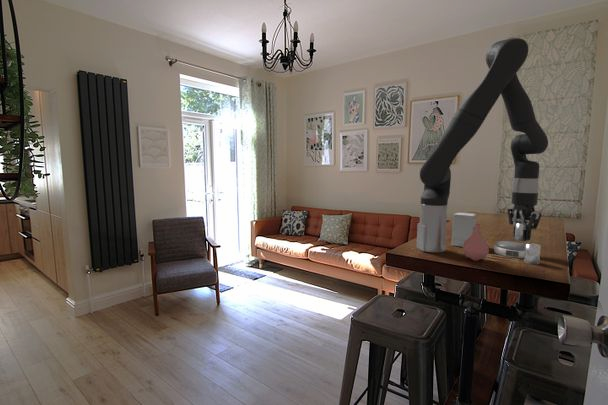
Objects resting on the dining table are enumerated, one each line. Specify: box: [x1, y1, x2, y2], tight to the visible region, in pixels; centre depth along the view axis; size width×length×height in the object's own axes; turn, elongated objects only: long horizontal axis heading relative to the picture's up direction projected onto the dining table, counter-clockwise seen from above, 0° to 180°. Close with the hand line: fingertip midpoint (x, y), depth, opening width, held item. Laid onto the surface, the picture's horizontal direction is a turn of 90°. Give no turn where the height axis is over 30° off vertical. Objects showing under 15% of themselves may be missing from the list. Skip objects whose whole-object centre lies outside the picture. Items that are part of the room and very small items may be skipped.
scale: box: [493, 240, 526, 259], centre depth 113 cm, size 11×11×3 cm
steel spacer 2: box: [523, 242, 541, 265], centre depth 103 cm, size 4×4×6 cm
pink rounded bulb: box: [462, 223, 490, 262], centre depth 105 cm, size 8×8×12 cm
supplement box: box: [451, 212, 477, 248], centre depth 125 cm, size 7×7×13 cm
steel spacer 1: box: [514, 223, 528, 242], centre depth 112 cm, size 4×4×6 cm
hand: (521, 238), depth 112 cm, fingers closed on steel spacer 1, 4 cm apart
